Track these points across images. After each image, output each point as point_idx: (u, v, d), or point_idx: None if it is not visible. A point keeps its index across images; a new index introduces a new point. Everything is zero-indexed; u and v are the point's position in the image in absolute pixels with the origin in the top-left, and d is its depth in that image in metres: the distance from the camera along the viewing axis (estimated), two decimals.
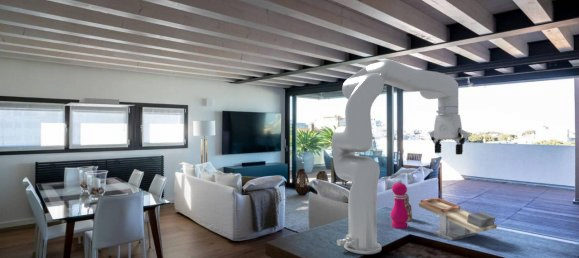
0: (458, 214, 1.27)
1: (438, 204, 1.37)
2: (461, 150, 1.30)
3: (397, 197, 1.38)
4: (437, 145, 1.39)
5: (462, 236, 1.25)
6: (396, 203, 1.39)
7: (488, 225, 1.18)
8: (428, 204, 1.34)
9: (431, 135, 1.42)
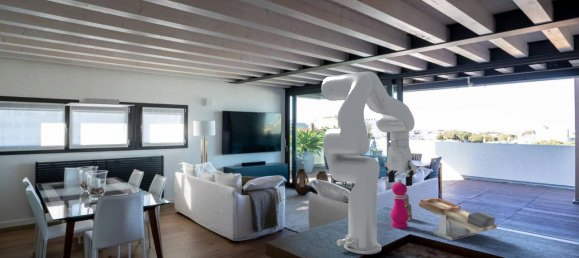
0: (458, 214, 1.27)
1: (438, 204, 1.37)
2: (410, 182, 1.35)
3: (397, 197, 1.38)
4: (390, 175, 1.44)
5: (462, 236, 1.25)
6: (396, 203, 1.39)
7: (488, 225, 1.18)
8: (428, 204, 1.34)
9: (385, 165, 1.47)
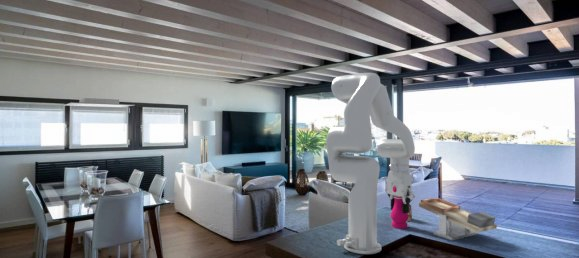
0: (458, 214, 1.27)
1: (438, 204, 1.37)
2: (407, 209, 1.36)
3: (397, 197, 1.38)
4: (393, 202, 1.42)
5: (462, 236, 1.25)
6: (396, 203, 1.39)
7: (488, 225, 1.18)
8: (428, 204, 1.34)
9: None
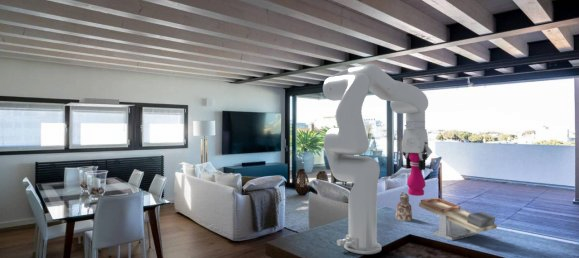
0: (458, 214, 1.27)
1: (438, 204, 1.37)
2: (424, 166, 1.35)
3: (414, 164, 1.37)
4: (408, 161, 1.40)
5: (462, 236, 1.25)
6: (413, 171, 1.38)
7: (488, 225, 1.18)
8: (428, 204, 1.34)
9: (402, 151, 1.44)
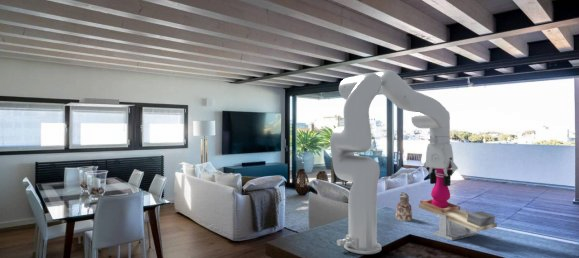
0: (458, 214, 1.27)
1: None
2: (449, 182, 1.32)
3: (440, 175, 1.34)
4: (432, 176, 1.38)
5: (462, 236, 1.25)
6: (438, 181, 1.35)
7: (488, 224, 1.18)
8: (428, 205, 1.34)
9: (426, 166, 1.41)
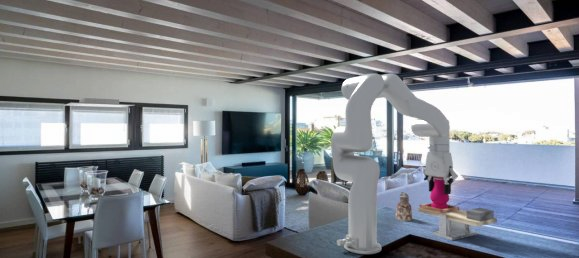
0: (458, 213, 1.27)
1: None
2: (449, 190, 1.32)
3: (438, 178, 1.35)
4: (431, 183, 1.38)
5: (462, 236, 1.25)
6: (436, 184, 1.36)
7: (488, 219, 1.18)
8: (427, 207, 1.34)
9: (425, 173, 1.41)
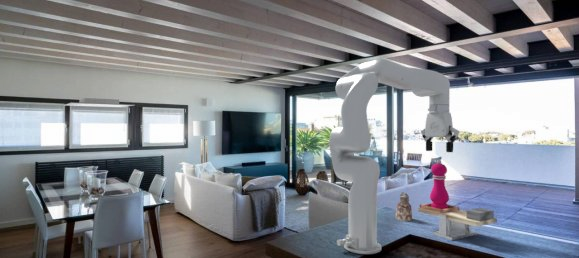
0: (458, 213, 1.27)
1: None
2: (452, 148, 1.30)
3: (437, 178, 1.35)
4: (428, 143, 1.39)
5: (462, 236, 1.25)
6: (436, 184, 1.36)
7: (488, 219, 1.18)
8: (427, 207, 1.34)
9: (422, 133, 1.42)
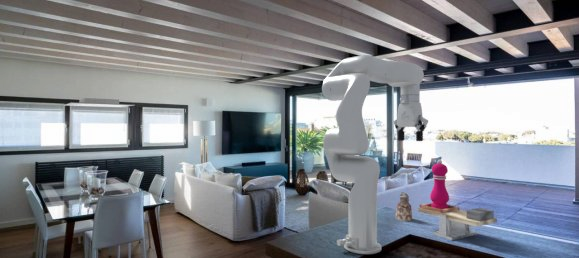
0: (458, 213, 1.27)
1: None
2: (421, 137, 1.34)
3: (438, 178, 1.35)
4: (400, 133, 1.43)
5: (462, 236, 1.25)
6: (436, 184, 1.36)
7: (488, 219, 1.18)
8: (427, 207, 1.34)
9: (395, 123, 1.45)
